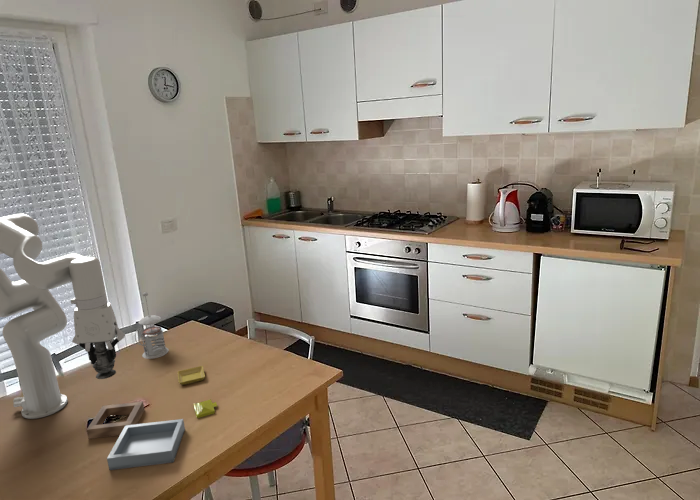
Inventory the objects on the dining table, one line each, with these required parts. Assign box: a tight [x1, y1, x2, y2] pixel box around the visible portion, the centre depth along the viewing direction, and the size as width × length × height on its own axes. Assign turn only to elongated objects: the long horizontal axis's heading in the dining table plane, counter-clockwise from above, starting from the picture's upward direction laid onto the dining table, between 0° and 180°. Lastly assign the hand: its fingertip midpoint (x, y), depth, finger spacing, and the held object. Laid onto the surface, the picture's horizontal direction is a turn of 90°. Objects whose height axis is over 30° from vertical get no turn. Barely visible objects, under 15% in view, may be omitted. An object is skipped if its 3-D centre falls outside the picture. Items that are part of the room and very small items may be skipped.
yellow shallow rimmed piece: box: [177, 365, 206, 386], centre depth 167 cm, size 9×9×2 cm
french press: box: [134, 291, 170, 360], centre depth 184 cm, size 10×12×25 cm
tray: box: [106, 418, 186, 471], centre depth 131 cm, size 16×14×4 cm
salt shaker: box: [92, 342, 117, 380], centre depth 138 cm, size 6×6×12 cm
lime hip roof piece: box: [191, 399, 218, 419], centre depth 148 cm, size 10×9×3 cm
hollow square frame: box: [86, 400, 145, 440], centre depth 143 cm, size 12×12×3 cm
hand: (103, 360), depth 138 cm, fingers closed on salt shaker, 4 cm apart
